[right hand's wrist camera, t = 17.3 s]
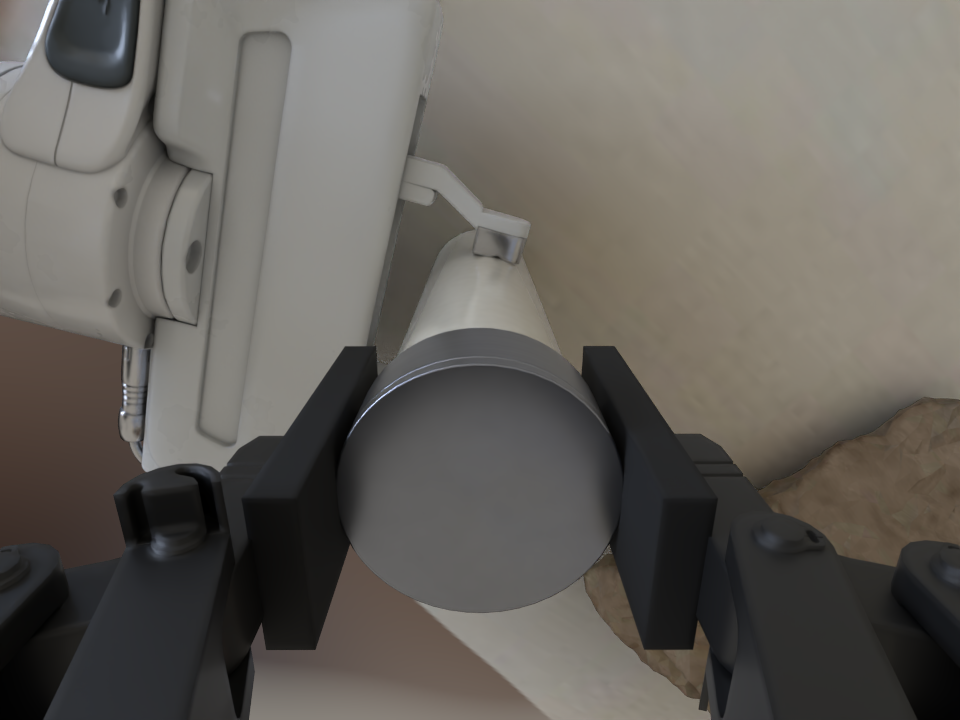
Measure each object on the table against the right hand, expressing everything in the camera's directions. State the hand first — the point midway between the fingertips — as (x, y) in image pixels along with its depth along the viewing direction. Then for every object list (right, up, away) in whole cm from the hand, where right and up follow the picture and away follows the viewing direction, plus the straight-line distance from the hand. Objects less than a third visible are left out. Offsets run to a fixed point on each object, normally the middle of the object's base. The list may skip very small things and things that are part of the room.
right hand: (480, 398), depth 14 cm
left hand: (+1, +3, +8) cm, 8 cm away
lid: (0, -1, -4) cm, 4 cm away
